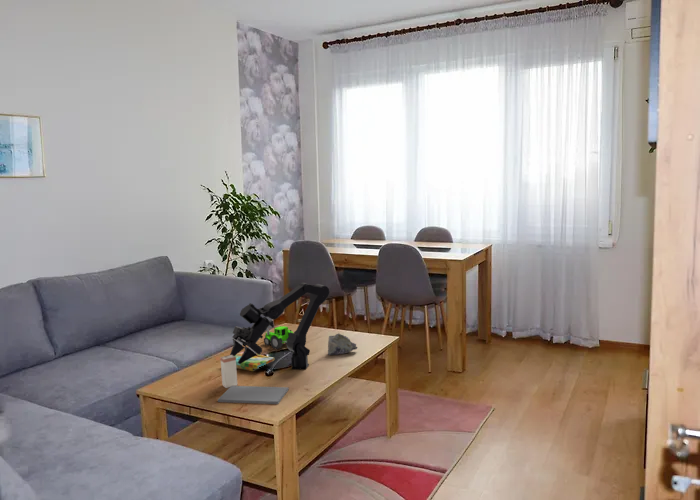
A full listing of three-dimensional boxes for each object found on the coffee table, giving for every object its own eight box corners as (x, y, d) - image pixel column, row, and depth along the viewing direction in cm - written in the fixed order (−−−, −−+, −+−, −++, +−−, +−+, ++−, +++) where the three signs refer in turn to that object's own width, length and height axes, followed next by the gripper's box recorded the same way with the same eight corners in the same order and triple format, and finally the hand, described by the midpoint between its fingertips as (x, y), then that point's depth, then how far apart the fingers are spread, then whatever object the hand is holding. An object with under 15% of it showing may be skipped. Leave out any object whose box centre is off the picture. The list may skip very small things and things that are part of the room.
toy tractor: (275, 340, 290) (274, 321, 289) (297, 345, 280) (296, 326, 279) (259, 345, 282) (258, 326, 281) (281, 351, 272) (280, 331, 270)
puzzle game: (241, 350, 261) (274, 355, 250) (242, 359, 262) (275, 365, 251) (223, 357, 251) (257, 363, 241) (224, 367, 252) (257, 374, 241)
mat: (288, 389, 221) (288, 387, 221) (278, 404, 208) (278, 401, 208) (231, 388, 226) (231, 385, 225) (217, 402, 212) (217, 399, 212)
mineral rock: (358, 351, 266) (357, 331, 264) (348, 358, 256) (347, 337, 255) (334, 349, 271) (333, 329, 270) (324, 355, 262) (323, 335, 260)
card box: (233, 382, 232) (231, 354, 230) (237, 385, 229) (235, 357, 227) (222, 385, 229) (220, 357, 228) (226, 388, 226) (223, 359, 224)
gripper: (235, 314, 237) (212, 344, 233) (253, 323, 222) (229, 355, 217) (253, 329, 243) (231, 358, 238) (272, 338, 227) (248, 370, 223)
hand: (234, 360), depth 229 cm, fingers open, 9 cm apart
